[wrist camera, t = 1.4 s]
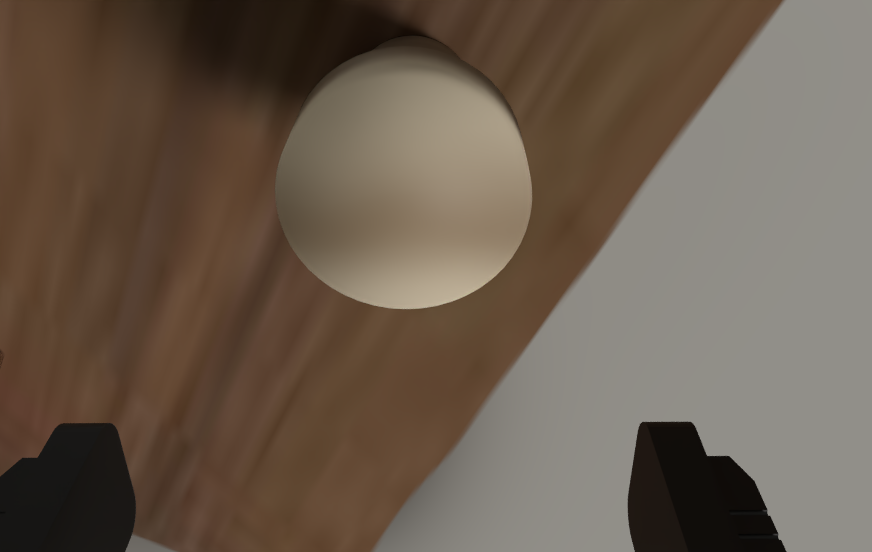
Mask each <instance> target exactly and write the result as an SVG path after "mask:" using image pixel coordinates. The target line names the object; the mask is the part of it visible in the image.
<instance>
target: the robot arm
mask: <svg viewBox="0 0 872 552" xmlns="http://www.w3.org/2000/svg"><path fill="white" fill-rule="evenodd" d="M135 514H136V501H135V494H134V490H133V486H132V483H131V479H130V475H129V471H128V468H127V464H126V460H125V456H124V453H123V449H122V445H121V441H120V438H119V434H118V431H117V429H116V427H115V426H114V425H113V424H111V423H63V424H60V425H58V426H57V427H56V428H55V430H54V431H53V433H52V434H51V436H50V438H49V439H48V441H47V443H46V445H45V446H44V448H43V450H42V451H41V453H40V455H39V456H38V458H22V459H21V460H19V461H18V462H17V463H16V464H15V465H13V466H12V467H11V468H10V469H9V470H8V471H6V472H5V473H4V474H3V475H2V476H1V477H0V552H125V550H126V548H127V546H128V543H129V541H130V538H131V535H132V532H133V528H134V523H135ZM628 520H629V528H630V534H631V538H632V542H633V546H634V550H635V552H786V550H785V548H784V545H783V543H782V541H781V540H779V539H778V532H777V530H776V528H775V526H774V523H773V521H772V519H771V517H770V516H768V514H767V508H766V506H765V504H764V501H763V499H762V497H761V495H760V492H759V490H758V488H757V486H756V484H755V481H754V480H753V479H752V478H751V477H750V476H749V475H748V474H747V473H746V472H745V471H744V470H743V469H742V468H741V467H740V466H738V465H737V463H735V462H734V460H733V459H732V458H730V457H729V456H707V455H706V452H705V450H704V448H703V445H702V443H701V440H700V437H699V435H698V432H697V430H696V428H695V426H694V425H693V423H692V422H642V423H641V424H640V426H639V429H638V434H637V441H636V447H635V454H634V460H633V467H632V474H631V480H630V487H629V494H628Z"/></svg>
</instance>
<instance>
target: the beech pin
mask: <svg viewBox="0 0 872 552" xmlns="http://www.w3.org/2000/svg"><path fill="white" fill-rule="evenodd" d="M275 195H276V206H277V211H278V216H279V220H280V223H281V226H282V229H283V232H284V234H285V236H286V238H287V240H288V242H289V244H290V246H291V247H292V249H293V250H294V252H295V253H296V254H297V256H298V257H299V259H300V260H301V261H302V262H303V263H304V264H305V266H306V267H307V268H308V269H309V270H310V271H311V272H312V273H313V274H315V275H316V276H317V277H318V278H319V279H320V280H322V281H323V282H324V283H326V284H327V285H329V286H330V287H332V288H333V289H335V290H337V291H339V292H340V293H342V294H344V295H346V296H348V297H351V298H353V299H356V300H358V301H361V302H364V303H368V304H371V305H375V306H380V307H387V308H396V309H417V308H426V307H432V306H438V305H441V304H445V303H448V302H452V301H454V300H457V299H459V298H462V297H464V296H466V295H468V294H470V293H472V292H474V291H475V290H477V289H479V288H480V287H482V286H483V285H485V284H486V283H487V282H489V281H490V280H491V279H493V278H494V277H495V276H496V275H497V274H498V273H499V272H500V271H501V270H502V269H503V268H504V267H505V265H506V264H507V263H508V262H509V260H510V259H511V258H512V257H513V255H514V253H515V252H516V250H517V249H518V247H519V245H520V243H521V241H522V239H523V236H524V234H525V232H526V229H527V225H528V222H529V218H530V213H531V205H532V185H531V178H530V172H529V167H528V163H527V158H526V154H525V149H524V145H523V141H522V136H521V132H520V129H519V126H518V122H517V119H516V117H515V115H514V113H513V111H512V109H511V107H510V105H509V103H508V102H507V100H506V99H505V97H504V96H503V94H502V93H501V92H500V90H499V89H498V88H497V87H496V86H495V85H494V84H493V82H492V81H491V80H489V79H488V78H487V77H486V76H485V75H484V74H483V73H481V72H480V71H479V70H477V69H476V68H474V67H473V66H471V65H470V64H468V63H467V62H465V61H463V60H461V59H460V58H459V57H458V56H457V54H456V53H455V52H453V51H452V50H451V49H450V48H449V47H447V46H446V45H444V44H442V43H440V42H438V41H436V40H433V39H430V38H427V37H422V36H402V37H397V38H393V39H391V40H388V41H386V42H384V43H382V44H380V45H379V46H377V47H376V48H374V49H373V50H372V51H369V52H366V53H363V54H360V55H358V56H355V57H353V58H351V59H349V60H347V61H346V62H344V63H342V64H340V65H339V66H338V67H336V68H335V69H333V70H332V71H330V72H329V73H328V74H327V75H326V76H325V77H324V78H323V79H322V80H321V81H320V82H318V84H317V85H316V86H315V87H314V89H313V90H312V91H311V92H310V94H309V95H308V97H307V98H306V100H305V102H304V103H303V105H302V107H301V109H300V112H299V114H298V116H297V119H296V121H295V123H294V126H293V128H292V131H291V133H290V135H289V138H288V140H287V142H286V145H285V147H284V150H283V152H282V155H281V157H280V161H279V165H278V169H277V174H276V184H275Z"/></svg>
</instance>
